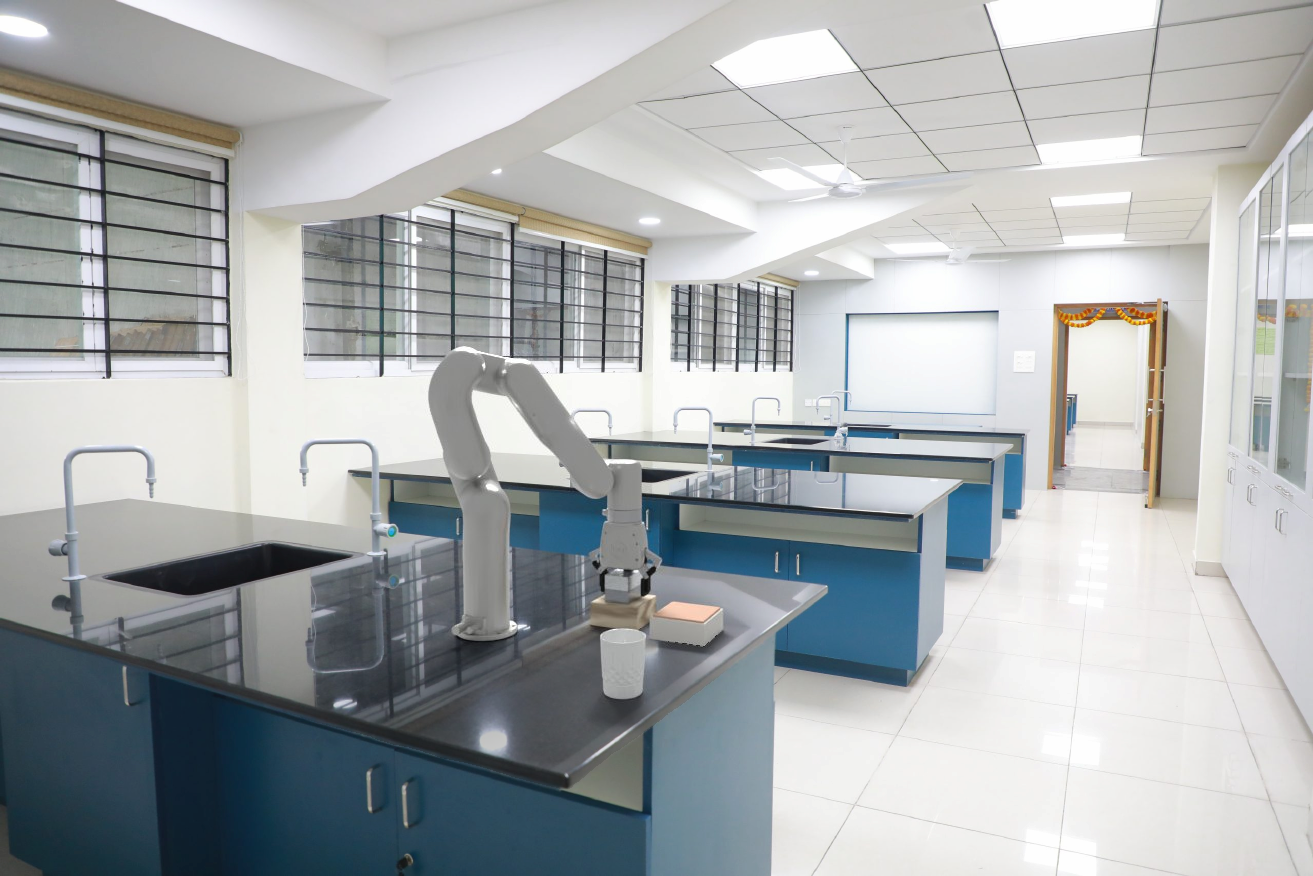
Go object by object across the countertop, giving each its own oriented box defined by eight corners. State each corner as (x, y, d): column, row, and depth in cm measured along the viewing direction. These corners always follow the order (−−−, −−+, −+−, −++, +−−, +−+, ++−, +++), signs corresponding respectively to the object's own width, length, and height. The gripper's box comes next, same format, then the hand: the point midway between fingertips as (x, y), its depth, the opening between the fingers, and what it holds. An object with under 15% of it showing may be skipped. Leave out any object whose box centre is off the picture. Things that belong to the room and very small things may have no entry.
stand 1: (636, 631, 177) (636, 608, 177) (590, 624, 182) (590, 602, 181) (656, 617, 188) (656, 595, 187) (612, 611, 192) (612, 590, 191)
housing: (627, 605, 180) (628, 572, 179) (604, 602, 182) (604, 569, 181) (642, 595, 187) (642, 564, 186) (620, 593, 189) (620, 561, 188)
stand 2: (704, 646, 168) (704, 622, 168) (649, 639, 173) (649, 615, 172) (722, 629, 179) (723, 607, 179) (670, 622, 184) (671, 600, 183)
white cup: (621, 680, 150) (621, 625, 149) (655, 691, 145) (655, 634, 144) (590, 693, 144) (590, 636, 143) (624, 705, 139) (625, 646, 138)
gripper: (581, 516, 183) (582, 593, 184) (654, 521, 176) (654, 601, 177) (597, 510, 190) (597, 584, 191) (667, 516, 183) (667, 592, 184)
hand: (624, 592), depth 184 cm, fingers open, 9 cm apart
